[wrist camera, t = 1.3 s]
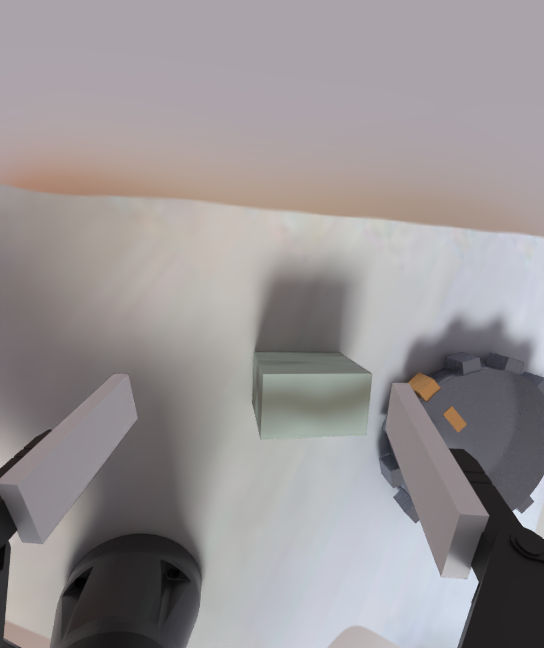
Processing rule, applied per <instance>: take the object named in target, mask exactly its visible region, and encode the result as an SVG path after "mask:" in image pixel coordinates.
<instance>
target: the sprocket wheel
mask: <svg viewBox="0 0 544 648" xmlns="http://www.w3.org/2000/svg"><path fill="white" fill-rule="evenodd" d="M446 362H447V368H446V369H444V370H442V371H440V372H438V373H436V374H434V375H432V376H431V377H428V376H426V375H424V374H422V373H420V372H419V373H417V374H416V375H415V376H414V377H413V378H412V379H411V380H410V381H409V382H408V383H409V384H410V386H411V388H412V389H413V391H414V392H415V394H416V396H417V397H418V399H419V401H420V402H421V404H422V406H423V407H424V409H425V411H426V412H427V414H428V416H429V417H430V419H431V421H432V422H433V424H434V425H435V427H436V429H437V430H438V432H439V434H440V435H441V437H442V439H443V440H444V442H445V444H446V445H447V447H448V448H454V449H464V450H465V451H467V452H468V453H469V454H470V455H471V456H473V457H474V458H475V459H476V460H477V461H478V462H479V464H480V465H481V467H482V468H483V470H484V471H485V474H486V475H487V476H488V477H489V478H490V480H491V481H492V484H493V485H494V486H495V487H496V489H497V490H498V491H499V493H500V494H501V496H502V497H503V499H504V500H505V502H506V503H507V505H508V506H509V507H510V509H511V510H512V511H513V510H515V509H516V510H518V511H519V512H520V513H521V514H522V513H523V512H524V511H525V510H526V509H527V508H528V507H529V506H530V505H531V504H532V503H533V502H534V501H533V500H532V498H531V497H530V494H531V493H532V492H533V491H534V489H535V488H536V487H537V485H538V484H539V482H540V480H541V479H542V477H543V475H544V377H540V376H537V375H534V374H531V373H528V372H524V373H523V374H522V375H520V372H521V370H522V367H523V365H524V362H521V361H518V360H515V359H512V358H509V357H505V356H502V355H498V354H494V353H491V352H490V353H489V356H488V358H487V361H486V364H482V363H480V357H476V356H473V355H470V354H467V353H464V352H461V353H457V354H454V355H450V356H446ZM387 414H388V413H387ZM386 420H387V416H386V418H385V421H384V424H383V427H382V429H383V430H384V431H385V432H386V430H385V427H386ZM379 462H380V468H381V473H382V475H383V476H384V477H385V479H386V480H387V481H388V482H389V484H390V485H391V486H392V487H393V488H395V487H398V486H401V488H402V489H401V490H400V491H399V492H398V493H397V494H396V495H395V496H394V497H393V498H394V499H395V500H396V501H397V503H398V504H399V505H400V507H401V508H402V509H403V511H404V512H405V513H406V514H407V515H408V516H409V517H410V518H411V519H412V520H413V521H414V522H415V523H417V522H418V521H419V517H418V515H417V512H416V509H415V507H414V504H413V501H412V499H411V496H410V493H409V491H408V488H407V486H406V483H405V480H404V478H403V475H402V472H401V470H400V467H399V464H398V462H397V459H396V456H395V454H394V451H393V448H392V446H391V443H390V455H387V456H384V457H381V458H379Z"/></svg>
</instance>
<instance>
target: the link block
mask: <svg viewBox="0 0 544 648" xmlns="http://www.w3.org/2000/svg"><path fill="white" fill-rule="evenodd" d="M371 381H372V373H371V372H369V371H368V370H366V369H364V368H363V367H361V366H360V365H358V364H357V363H355V362H354V361H352V360H351V359H349V358H347V357H346V356H344V355H343V354H341V353H340V352H254V370H253V399H252V404H253V408H254V413H255V417H256V422H257V426H258V430H259V435H260V439H284V438H309V437H334V436H358V435H366V434H367V423H368V413H369V402H370V391H371Z"/></svg>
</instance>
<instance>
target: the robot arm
mask: <svg viewBox="0 0 544 648" xmlns="http://www.w3.org/2000/svg"><path fill="white" fill-rule="evenodd" d="M137 419H138V417H137V412H136V407H135V403H134V398H133V393H132V389H131V384H130V379H129V375H128V374H113V375H112V376H111V377H110V378H109V379H108V380H107V381H106V382H104V383H103V384H102V385H101V386H100V387H99V388H98V389H97V390H96V391H95V392H94V393H92V394H91V395H90V396H89V397H88V398H87V399H86V400H85V401H84V402H83V403H82V404H81V405H79V406H78V407H77V408H76V409H75V410H74V411H73V412H72V413H71V414H70V415H69V416H67V417H66V418H65V419H64V420H63V421H62V422H61V423H60V424H59V425H58V426H57V427H55V428H54V429H53V430H50V429H49V430H47V431H46V432H44V433H42V434H41V435H39V436H37V437H36V438H34V439H33V440H32V441H31V442H30V443H29V444H27V445H26V446H25V447H24V449H23V450H21V451H20V452H18V453H17V454H16V455H15V456H14V458H12V459H10V460H9V461H8V462H7V463H6V464H5V465H4V466H3V467H1V468H0V648H21V647H19V646H17V645H16V644H14V643H12V642H10V641H8V640H6V639H5V638H3V636H4V625H5V613H6V601H7V589H8V577H9V565H10V553H11V547H10V543H9V541H8V540H9V539H10V538H11V537H12V536H13V534H14V533H15V532H16V531H17V532H18V534H19V536H20V538H21V540H22V542H25V543H37V544H43V543H44V542H45V541H46V539H47V538H48V537H49V535H50V534H51V533H52V531H53V530H54V529H55V527H56V526H57V525H58V523H59V522H60V521H61V519H62V518H63V517H64V515H65V514H66V513H67V512H68V510H69V509H70V508H71V506H72V505H73V504H74V502H75V501H76V500H77V498H78V497H79V496H80V494H81V493H82V492H83V490H84V489H85V488H86V486H87V485H88V484H89V482H90V481H91V480H92V478H93V477H94V476H95V474H96V473H97V472H98V470H99V469H100V468H101V466H102V465H103V464H104V462H105V461H106V460H107V458H108V457H109V456H110V454H111V453H112V452H113V450H114V449H115V448H116V446H117V445H118V444H119V442H120V441H121V440H122V438H123V437H124V436H125V434H126V433H127V432H128V430H129V429H130V428H131V427H132V425H133V424H134V423H135V421H136V420H137ZM385 430H386V433H387V435H388V438H389V441H390V443H391V446H392V448H393V451H394V454H395V456H396V459H397V462H398V464H399V467H400V470H401V472H402V475H403V478H404V480H405V483H406V486H407V488H408V491H409V493H410V496H411V499H412V501H413V504H414V507H415V509H416V512H417V515H418V517H419V520H420V523H421V525H422V528H423V531H424V533H425V536H426V538H427V541H428V544H429V546H430V549H431V552H432V554H433V557H434V560H435V562H436V565H437V568H438V570H439V573H440V575H441V577H448V578H460V579H467V578H468V575H469V572H470V570H471V567H472V569H473V571H474V573H475V575H476V577H477V579H478V581H479V583H478V586H477V589H476V591H475V594H474V597H473V599H472V602H471V603H472V604H471V607H470V610H469V613H468V617H467V620H466V623H465V626H464V629H463V632H462V635H461V638H460V641H459V644H458V647H457V648H544V539H543V538H542V537H540V536H539V535H537V534H536V533H534V532H533V531H531V530H529V529H527V528H524V527H523V526H522V525H521V523H520V522H519V521H518V519H517V518H516V516H515V515H514V513H513V512H512V510H511V509H510V507H509V506H508V505H507V503H506V502H505V500H504V499H503V497H502V496H501V494H500V493H499V491H498V490H497V489H496V487H495V486H494V485H493V484H492V481H491V480H490V478H489V477H488V476H487V475H486V474H485V471H484V470H483V468H482V467H481V465H480V464H479V462H478V461H477V460H476V459H475V458H474V457H473V456H471V455H470V454H469V453H468V452H467V451H465V450H464V449H454V448H448V447H447V445H446V444H445V442H444V440H443V439H442V437H441V435H440V434H439V432H438V430H437V429H436V427H435V425H434V424H433V422H432V421H431V419H430V417H429V416H428V414H427V412H426V411H425V409H424V407H423V406H422V404H421V402H420V401H419V399H418V397H417V396H416V394H415V392H414V391H413V389H412V388H411V386H410V384H409V383H392V387H391V394H390V401H389V407H388V414H387V420H386V427H385ZM200 597H201V575H200V571H199V568H198V566H197V564H196V562H195V560H194V559H193V557H192V556H191V555H190V554H189V553H188V552H187V551H186V550H185V549H184V548H183V547H181V546H180V545H178V544H177V543H175V542H173V541H171V540H168V539H166V538H162V537H159V536H153V535H129V536H123V537H119V538H116V539H113V540H110V541H108V542H106V543H103V544H102V545H100V546H98V547H96V548H95V549H93V550H92V551H91V552H89V553H88V554H87V555H86V556H85V557H84V558H83V559H82V560H81V561H80V562H79V563H78V564H77V566H76V567H75V569H74V570H73V572H72V574H71V575H70V577H69V579H68V581H67V583H66V585H65V587H64V589H63V591H62V593H61V596H60V599H59V602H58V605H57V609H56V615H55V621H54V626H53V632H52V638H51V644H50V648H186V646H187V643H188V641H189V638H190V635H191V633H192V630H193V627H194V625H195V622H196V619H197V616H198V612H199V607H200Z"/></svg>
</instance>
